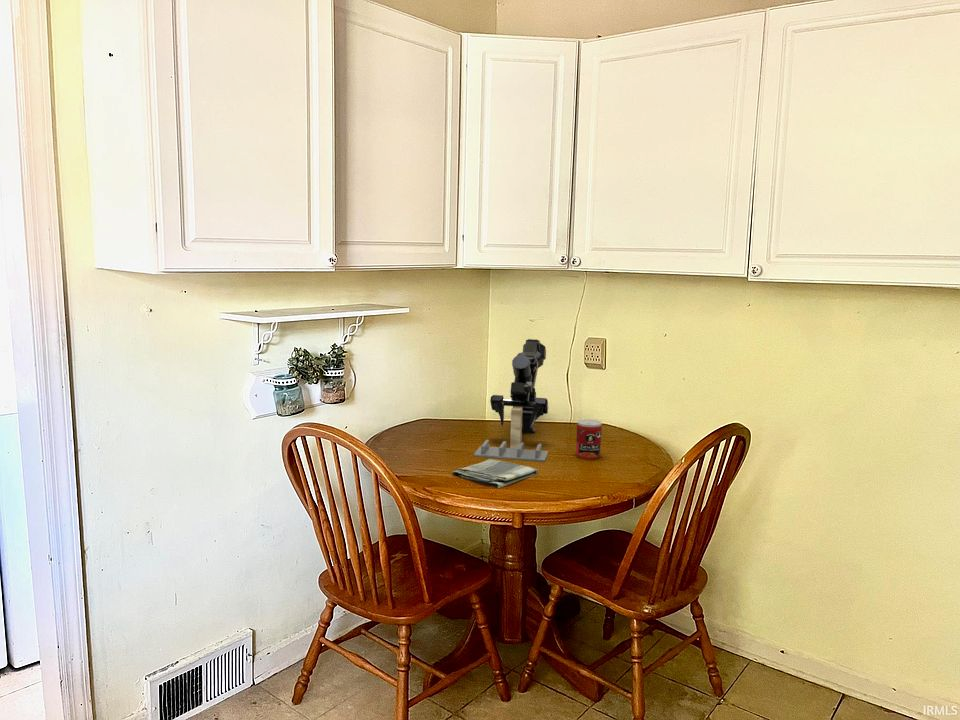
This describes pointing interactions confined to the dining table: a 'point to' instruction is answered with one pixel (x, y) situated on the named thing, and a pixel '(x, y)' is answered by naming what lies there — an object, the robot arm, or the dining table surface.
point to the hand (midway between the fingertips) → (516, 426)
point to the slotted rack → (511, 452)
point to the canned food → (588, 439)
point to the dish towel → (495, 473)
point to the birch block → (516, 427)
